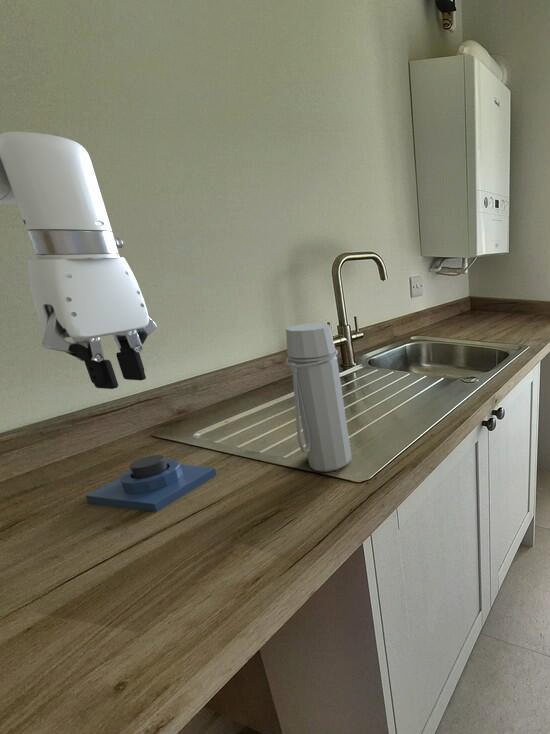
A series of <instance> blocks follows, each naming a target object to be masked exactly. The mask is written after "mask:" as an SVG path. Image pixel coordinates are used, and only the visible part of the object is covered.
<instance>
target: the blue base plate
mask: <svg viewBox="0 0 550 734" xmlns="http://www.w3.org/2000/svg"><path fill="white" fill-rule="evenodd" d="M165 461H166V464H167V467H168V469H167V470H166V471H164V472H162V473H160V474H158V475H155V476H152V477H148V478H141V479H134V477H133V474H132V471H131V469H129V470H126V471H125V472H123V474H122V475H121V476H119V478H118V479H116V480H114V481H112V482H110V483H108V484H105V485H103V486H102V487H100V488H98V489H96V490H93V491H92V492H90V493H88V494H85V498H86V501H87V503H88V504H89V505H96V506H103V507H104V506H106V507H114V508H120V509H130V510H137V511H145V512H153V513H158V512H159V511H161V510H162V509H165V508H166V507H168V506H169V505H171V504H172V503H174V502H176V501H177V500H179V499H181V498H182V497H184V496H185V495H187V494H188V493H190V492H192V491H194V490H195V489H197V488H199V487H200V486H202V485H204V484H205V483H207V482H208V481H210V480H212V479H213V478H215V477H216V476H217V475H218V474H217V470H216V468H215V467H209V466H199V465H189V464H181V463H180V462H179V461H178V460H177V459H169V458H167V459H166V458H165Z"/></svg>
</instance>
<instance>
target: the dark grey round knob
mask: <svg viewBox="0 0 550 734" xmlns="http://www.w3.org/2000/svg"><path fill="white" fill-rule="evenodd" d="M165 460H166V458H165V455H163V454H152V455H148V456H144V457H140V458H138V459H136V460H134V461H133V462H131V463H130V465H129V468H130V470H131V471H132V474H133V477H134V479H141V478H148V477H152V476H155V475H158V474H160V473H162V472H164V471H166V470H167V469H168V467H167V464H166V461H165Z"/></svg>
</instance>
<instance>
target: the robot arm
mask: <svg viewBox="0 0 550 734" xmlns="http://www.w3.org/2000/svg"><path fill="white" fill-rule="evenodd" d="M0 205H4V206H5V205H6V206H17V207H18V210H19V213H20V216H21V218H22V221H23V225H24V227H25V229H26V230H27V231H26V232H27V235H28V238H29V241H30V243H31V246H32V248H33V252H34V254H35V257H36V258H29V259H27V269H28V270H27V271H28V280H29V281H28V282H29V288H30V292H31V296H32V301H33V304H34V308H35V311H36V315H37V318H38V323H39V325H40V327H41V330H42V332H43V333H44V334H43V338H42V341H41V346H42V347H43V348H44V349H48V350H52V351H53V350H54V351H58V352H62V353H66V354H68V355H71V356H72V357H74V358H76V359H77V360H78V361H81V362H84V365H85V367H86V370H87V373H88V376H89V379H90V381H91V383H92V384H93V385H94V387H95V388H96V389H107V390H114V389H117V388H118V387H119V382H118V379H117V377H116V373H115V371H114V367H113V364H112V361H110V360H109V359H105V356H104V351H103V347H102V342H101V337H105V336H111V335H112V337H113V339H114V341H115V343H116V346H117V348H118V350H119V351H117V352H116V354H115V356H116V359H117V362H118V365H119V369H120V372H121V374H122V375H121V376H122V378H123V379H124V380H126V381H127V380H129V381H144V380H146V378H147V376H146V373H145V367H144V364H143V361H142V357H141V354H140V353H141V352H143V350H144V346H143V345H144V343H145V342H146V341H147V338H148V336H150V335H151V334H152V333H153V332H155V331H156V330H157V328H158V326H157V325H158V324H156V323H155V322H154V321H153V319H152V318H151V317H150V316H149V312H148V308H147V305H146V302H145V298H144V296H143V293H142V291H141V288H140V286H139V283H138V282H137V281H138V280H137V279H136V277H135V274H134V273H133V270H132V269H131V267H130V265H129V264H128V262H127V259H125V257H124V256H123V257H121V256H120V252H119V250H118V249H122V248H123V247H124V241H123V240H122V239H121V238H120V237H115V235H114V233H113V230H112V227H111V222H110V220H109V217H108V213H107V210H106V209H107V208H106V206H105V202H104V199H103V195H102V193H101V189H100V186H99V183H98V179H97V176H96V173H95V169H94V167H93V163H92V160H91V157H90V153H88V151H87V150H86V148H85V147H84V146H83V145H82V144H81V143H78V142H77V141H75V140H72V139H70V138H67V137H63V136H59V135H54V134H48V133H40V132H32V131H31V132H30V131H8V132H7V131H6V132H3V133H0ZM66 338H72V342H71V341H67V340H66Z"/></svg>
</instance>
